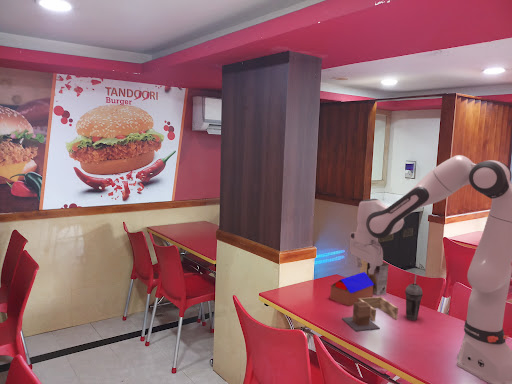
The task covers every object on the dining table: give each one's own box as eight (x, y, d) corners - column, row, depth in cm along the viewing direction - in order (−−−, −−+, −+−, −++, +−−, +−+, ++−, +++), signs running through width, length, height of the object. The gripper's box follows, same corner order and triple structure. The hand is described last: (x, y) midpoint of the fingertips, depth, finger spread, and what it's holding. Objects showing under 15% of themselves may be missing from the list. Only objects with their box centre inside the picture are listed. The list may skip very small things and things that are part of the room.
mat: (379, 329, 171) (379, 327, 171) (356, 331, 168) (356, 330, 168) (364, 317, 183) (364, 315, 183) (341, 319, 180) (342, 317, 180)
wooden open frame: (397, 318, 182) (398, 308, 182) (373, 321, 179) (373, 310, 178) (379, 306, 195) (380, 296, 195) (357, 308, 192) (357, 298, 191)
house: (373, 297, 207) (375, 274, 206) (349, 307, 194) (351, 282, 193) (352, 290, 216) (354, 268, 215) (329, 299, 203) (330, 276, 201)
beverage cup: (401, 319, 182) (405, 275, 180) (404, 313, 189) (408, 270, 186) (419, 323, 179) (423, 278, 177) (421, 317, 185) (425, 273, 183)
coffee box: (364, 289, 218) (367, 259, 216) (374, 288, 220) (376, 258, 218) (376, 295, 209) (379, 264, 207) (386, 294, 212) (389, 263, 210)
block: (369, 324, 174) (370, 306, 173) (358, 325, 172) (359, 307, 171) (362, 319, 179) (364, 301, 178) (352, 320, 177) (353, 302, 176)
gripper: (388, 243, 162) (385, 277, 164) (361, 232, 182) (358, 263, 183) (374, 244, 160) (371, 278, 162) (348, 232, 180) (346, 263, 181)
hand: (364, 270), depth 173 cm, fingers open, 8 cm apart
